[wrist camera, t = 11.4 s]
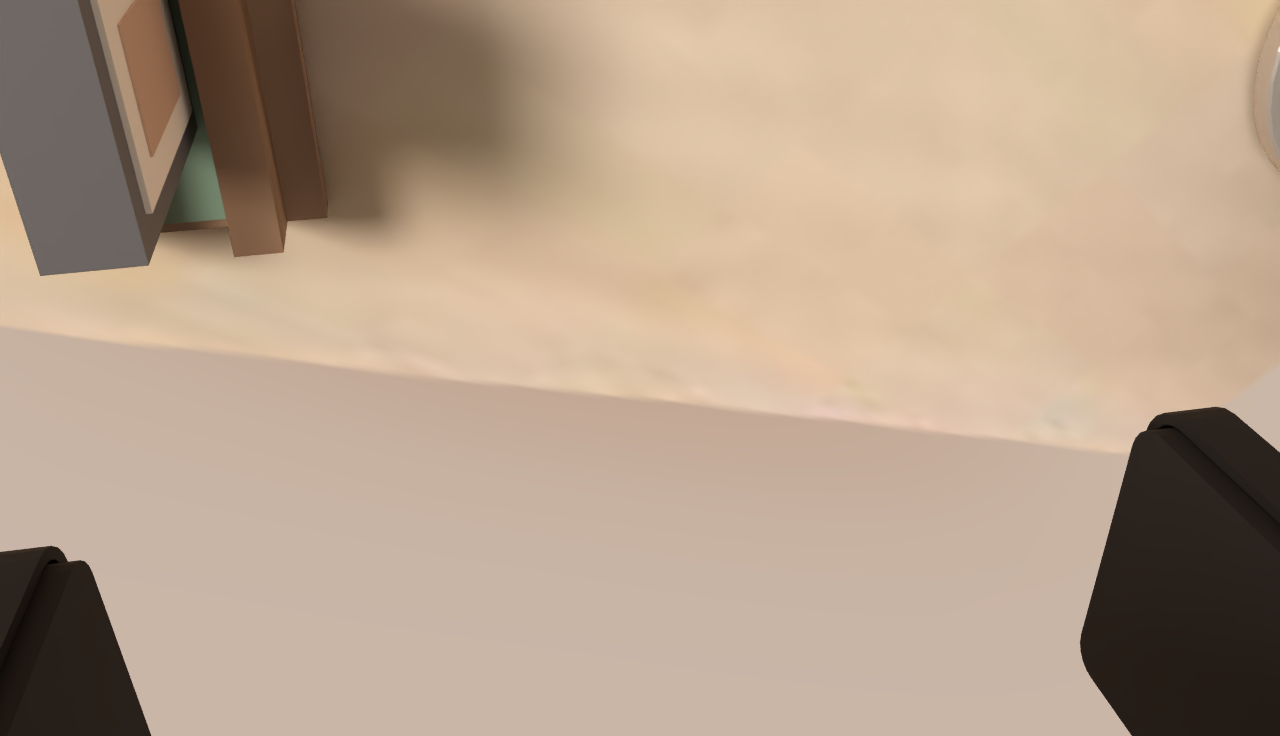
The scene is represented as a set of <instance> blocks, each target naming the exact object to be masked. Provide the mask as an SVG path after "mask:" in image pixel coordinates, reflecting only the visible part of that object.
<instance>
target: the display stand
mask: <svg viewBox="0 0 1280 736" xmlns="http://www.w3.org/2000/svg"><path fill="white" fill-rule="evenodd" d="M169 3H170V8H171V12H172V17H173V21H174V25H175V30H176V34H177V39H178V43H179V48H180V52H181V57H182V61H183V65H184V70H185V74H186V79H187V83H188V88H189V92H190V97H191V101H192V105H193V110H194V114H195V119H196V123H197V128H198V129H197V132H196V135H195V138H194V140H193V143H192V146H191V149H190V152H189V154H188V157H187V160H186V163H185V165H184V168H183V171H182V174H181V177H180V179H179V182H178V185H177V188H176V190H175V193H174V196H173V199H172V202H171V204H170V207H169V210H168V213H167V216H166V218H165V221H164V224H163V227H162V229H161V232H172V231H183V230H195V229H206V228H217V227H228V230H229V235H230V239H231V244H232V248H233V253H234V257H240V256H250V255H261V254H271V253H282V252H284V245H285V236H286V228H287V221H295V220H306V219H317V218H327V207H328V203H327V197H326V191H325V185H324V179H323V173H322V167H321V161H320V155H319V149H318V142H317V136H316V130H315V124H314V118H313V112H312V106H311V100H310V94H309V88H308V82H307V76H306V69H305V63H304V57H303V51H302V45H301V39H300V33H299V27H298V21H297V15H296V9H295V3H294V0H169ZM161 232H160V233H161Z"/></svg>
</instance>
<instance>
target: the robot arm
mask: <svg viewBox="0 0 1280 736" xmlns="http://www.w3.org/2000/svg"><path fill="white" fill-rule="evenodd" d="M1254 119H1255V123H1256V128H1257V132H1258V137H1259V141H1260V143H1261V145H1262V146H1263V148H1264V150H1265V152H1266V154H1267V156H1268V158H1269V160H1270V161H1271V162H1272V163H1273V164H1274V165H1275V166H1276V167H1277V168H1278V169H1279V170H1280V9H1279V11H1278V13H1277V15H1276V17H1275V19H1274V21H1273V23H1272V25H1271V27H1270V29H1269V32H1268V35H1267V38H1266V41H1265V44H1264V47H1263V50H1262V53H1261V56H1260V59H1259V62H1258V68H1257V74H1256V80H1255V86H1254ZM1080 646H1081V654H1082V659H1083V662H1084V665H1085V667H1086V670H1087V672H1088V673H1089V675H1090V677H1091V678H1092V679H1093V681H1094V682H1095V684H1096V685H1097V687H1098V688H1099V690H1100V691H1101V692H1102V694H1103V695H1104V697H1105V698H1106V700H1107V701H1108V702H1109V704H1110V705H1111V707H1112V708H1113V709H1114V711H1115V712H1116V714H1117V715H1118V717H1119V718H1120V719H1121V721H1122V722H1123V724H1124V725H1125V727H1126V728H1127V729H1128V731H1129V732H1130V733H1131V735H1132V736H1280V452H1278V451H1277V450H1276V449H1275V448H1274V447H1273V446H1271V445H1270V444H1269V443H1268V442H1267V441H1266V440H1264V439H1263V438H1262V437H1261V436H1260V435H1259V434H1257V433H1256V432H1255V431H1254V430H1253V429H1251V428H1250V427H1249V426H1248V425H1247V424H1245V423H1244V422H1243V421H1242V420H1241V419H1240V418H1239V417H1237V416H1236V415H1235V414H1233V413H1232V412H1230V411H1229V410H1227V409H1225V408H1220V407H1211V408H1202V409H1194V410H1185V411H1177V412H1169V413H1163V414H1160V415H1157V416H1156V417H1155V418H1154V419H1153V420H1152V421H1151V422H1150V424H1149V426H1148V428H1147V431H1144V432H1141V433H1140V434H1139V435H1138V436H1137V437H1136V438H1135V441H1134V443H1133V445H1132V449H1131V453H1130V456H1129V460H1128V464H1127V467H1126V471H1125V475H1124V478H1123V482H1122V486H1121V490H1120V494H1119V497H1118V501H1117V504H1116V508H1115V512H1114V515H1113V519H1112V523H1111V526H1110V530H1109V534H1108V538H1107V541H1106V545H1105V549H1104V552H1103V556H1102V560H1101V563H1100V567H1099V571H1098V575H1097V578H1096V582H1095V586H1094V589H1093V593H1092V597H1091V600H1090V604H1089V608H1088V611H1087V615H1086V619H1085V622H1084V626H1083V630H1082V633H1081V640H1080ZM0 736H151V734H150V731H149V728H148V725H147V723H146V720H145V717H144V714H143V711H142V709H141V706H140V703H139V700H138V698H137V695H136V692H135V689H134V687H133V684H132V681H131V678H130V675H129V673H128V670H127V667H126V665H125V662H124V659H123V656H122V654H121V651H120V648H119V645H118V642H117V639H116V637H115V634H114V631H113V628H112V626H111V623H110V620H109V617H108V614H107V612H106V609H105V606H104V603H103V601H102V598H101V595H100V592H99V590H98V587H97V584H96V581H95V579H94V576H93V573H92V571H91V569H90V567H89V565H88V564H87V563H86V562H85V561H81V560H79V561H71V562H68V561H67V559H66V557H65V555H64V553H63V552H62V551H61V550H60V549H59V548H58V547H53V546H47V547H38V548H30V549H22V550H14V551H6V552H0Z"/></svg>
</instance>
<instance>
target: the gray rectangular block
mask: <svg viewBox="0 0 1280 736" xmlns="http://www.w3.org/2000/svg"><path fill="white" fill-rule="evenodd" d="M197 129H198V128H197V123H196V119H195V114H194V110H193V105H192V101H191V97H190V92H189V88H188V83H187V79H186V74H185V70H184V65H183V61H182V57H181V52H180V48H179V43H178V39H177V34H176V30H175V25H174V21H173V17H172V12H171V8H170V3H169V0H0V154H1V157H2V160H3V163H4V166H5V169H6V172H7V175H8V178H9V182H10V185H11V188H12V191H13V194H14V197H15V200H16V203H17V206H18V209H19V212H20V215H21V218H22V221H23V224H24V227H25V230H26V234H27V237H28V240H29V243H30V246H31V249H32V252H33V255H34V258H35V261H36V264H37V267H38V270H39V273H40V276H45V275H55V274H65V273H76V272H86V271H97V270H107V269H117V268H128V267H138V266H148V265H149V263H150V260H151V257H152V254H153V252H154V249H155V246H156V243H157V241H158V238H159V235H160V232H161V229H162V227H163V224H164V221H165V218H166V216H167V213H168V210H169V207H170V204H171V202H172V199H173V196H174V193H175V190H176V188H177V185H178V182H179V179H180V177H181V174H182V171H183V168H184V165H185V163H186V160H187V157H188V154H189V152H190V149H191V146H192V143H193V140H194V138H195V135H196V132H197Z"/></svg>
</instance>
